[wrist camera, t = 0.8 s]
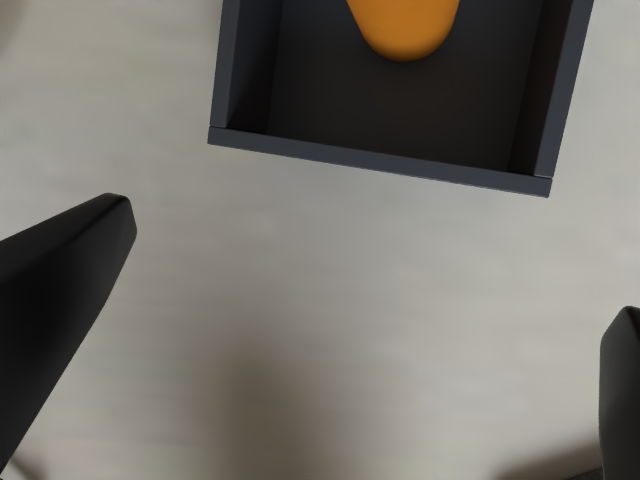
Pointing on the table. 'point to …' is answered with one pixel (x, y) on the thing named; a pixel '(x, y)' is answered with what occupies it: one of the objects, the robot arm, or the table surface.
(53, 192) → the table surface
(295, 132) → the organizer
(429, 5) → the glue stick
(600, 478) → the phone
